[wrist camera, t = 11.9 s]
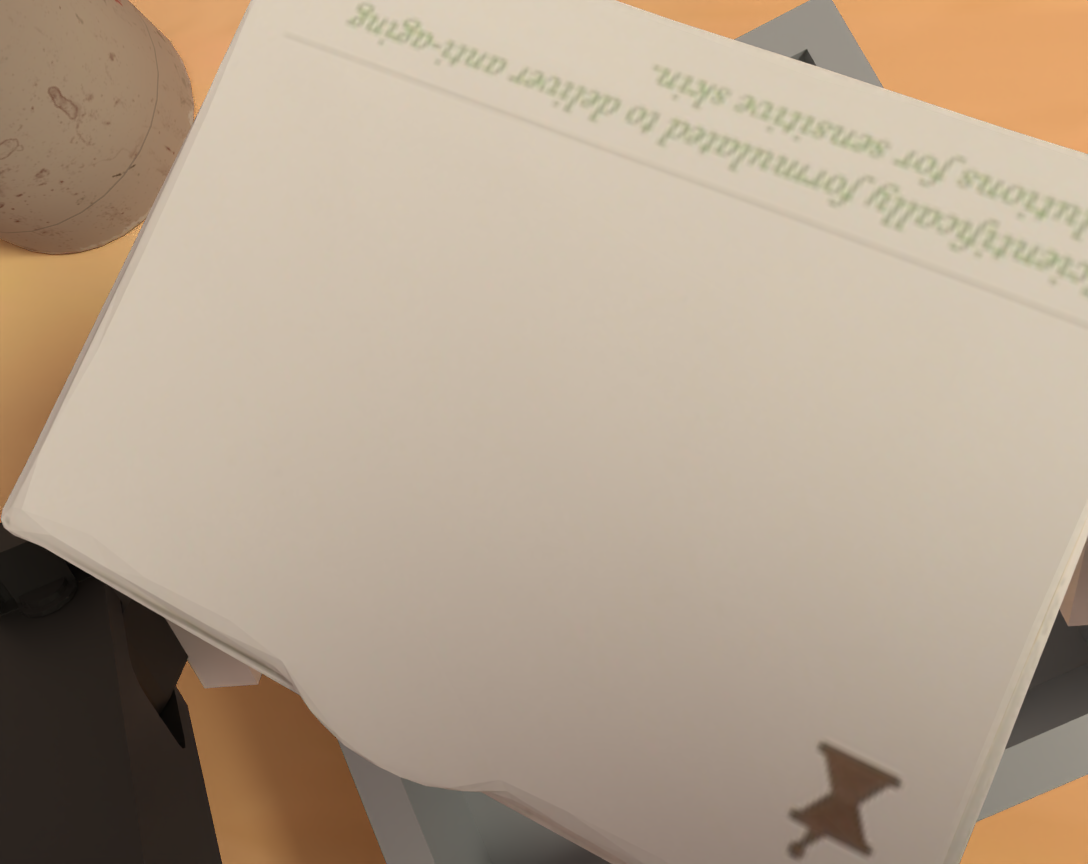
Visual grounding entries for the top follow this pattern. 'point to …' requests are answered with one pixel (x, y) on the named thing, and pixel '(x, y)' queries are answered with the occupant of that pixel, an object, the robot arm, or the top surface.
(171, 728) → the robot arm
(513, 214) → the skincare box
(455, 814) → the tray
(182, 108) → the thermos bottle
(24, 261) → the top surface
